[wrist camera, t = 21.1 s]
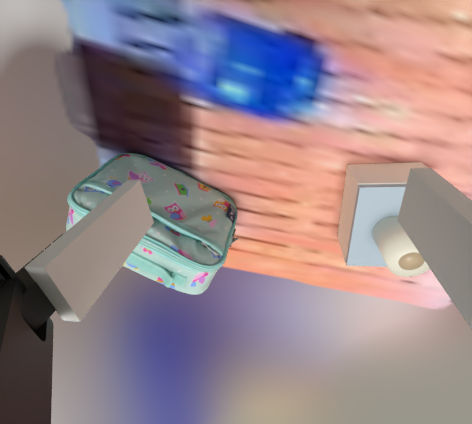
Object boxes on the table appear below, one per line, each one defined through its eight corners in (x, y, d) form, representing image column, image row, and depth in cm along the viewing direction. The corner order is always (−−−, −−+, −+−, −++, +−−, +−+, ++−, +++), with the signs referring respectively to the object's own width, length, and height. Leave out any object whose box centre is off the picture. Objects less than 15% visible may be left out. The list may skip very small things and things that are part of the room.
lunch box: (250, 201, 53) (235, 277, 35) (229, 235, 58) (207, 316, 40) (129, 140, 50) (43, 190, 32) (119, 182, 55) (41, 245, 37)
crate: (347, 164, 46) (358, 183, 39) (421, 162, 44) (446, 181, 37) (337, 236, 54) (345, 262, 47) (399, 237, 52) (416, 264, 45)
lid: (358, 184, 39) (360, 187, 38) (446, 183, 37) (450, 186, 36) (345, 261, 47) (346, 265, 46) (417, 263, 45) (419, 267, 44)
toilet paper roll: (376, 215, 40) (393, 244, 34) (418, 216, 39) (443, 245, 33) (368, 245, 43) (383, 276, 38) (407, 246, 43) (428, 278, 37)
